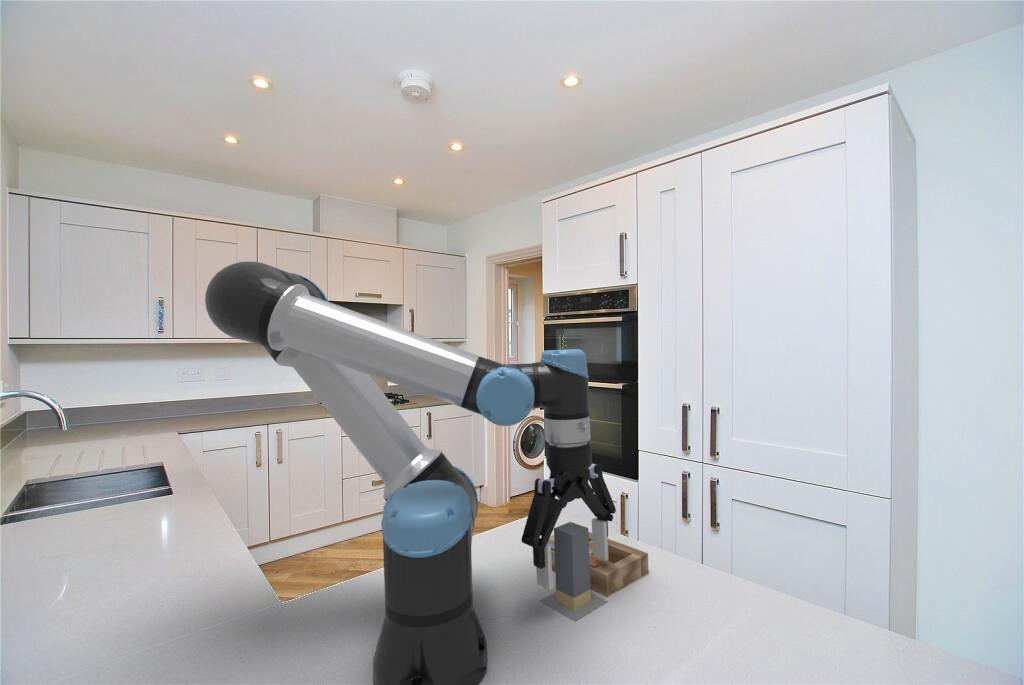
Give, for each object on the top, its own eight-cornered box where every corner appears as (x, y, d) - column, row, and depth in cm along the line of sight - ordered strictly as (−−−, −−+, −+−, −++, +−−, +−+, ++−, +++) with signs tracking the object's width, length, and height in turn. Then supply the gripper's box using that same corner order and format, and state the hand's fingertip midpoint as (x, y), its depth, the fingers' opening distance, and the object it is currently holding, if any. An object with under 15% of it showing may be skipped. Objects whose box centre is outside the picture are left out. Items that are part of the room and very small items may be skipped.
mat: (575, 624, 71) (575, 621, 71) (539, 603, 77) (539, 600, 77) (608, 604, 76) (608, 601, 76) (572, 586, 83) (572, 583, 83)
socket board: (607, 599, 78) (606, 572, 78) (533, 563, 92) (533, 541, 92) (648, 575, 86) (647, 550, 86) (575, 545, 99) (574, 524, 99)
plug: (574, 610, 74) (571, 534, 74) (556, 601, 77) (553, 528, 77) (590, 601, 77) (588, 528, 77) (572, 592, 80) (570, 521, 80)
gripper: (527, 460, 66) (534, 610, 66) (632, 433, 82) (638, 554, 82) (494, 452, 72) (501, 591, 72) (598, 429, 88) (604, 541, 88)
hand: (574, 571), depth 77 cm, fingers open, 13 cm apart
